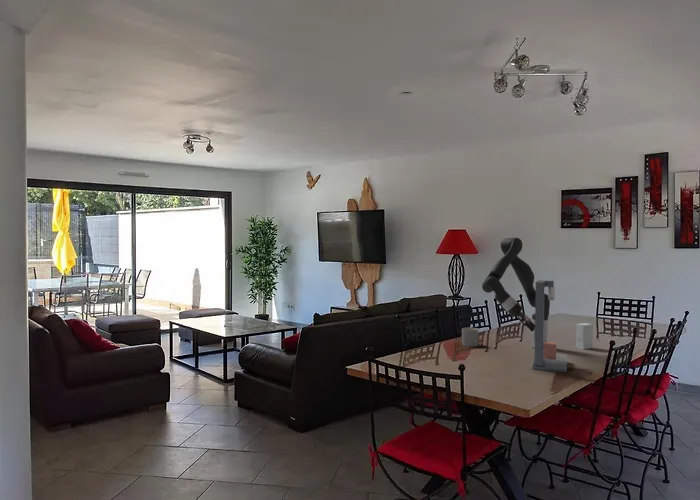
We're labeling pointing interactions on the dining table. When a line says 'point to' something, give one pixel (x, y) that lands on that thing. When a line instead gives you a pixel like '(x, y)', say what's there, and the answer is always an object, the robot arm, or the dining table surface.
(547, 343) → the pink block
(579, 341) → the skincare box
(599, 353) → the dining table surface
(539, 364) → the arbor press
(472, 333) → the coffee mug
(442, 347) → the dining table surface
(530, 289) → the robot arm
